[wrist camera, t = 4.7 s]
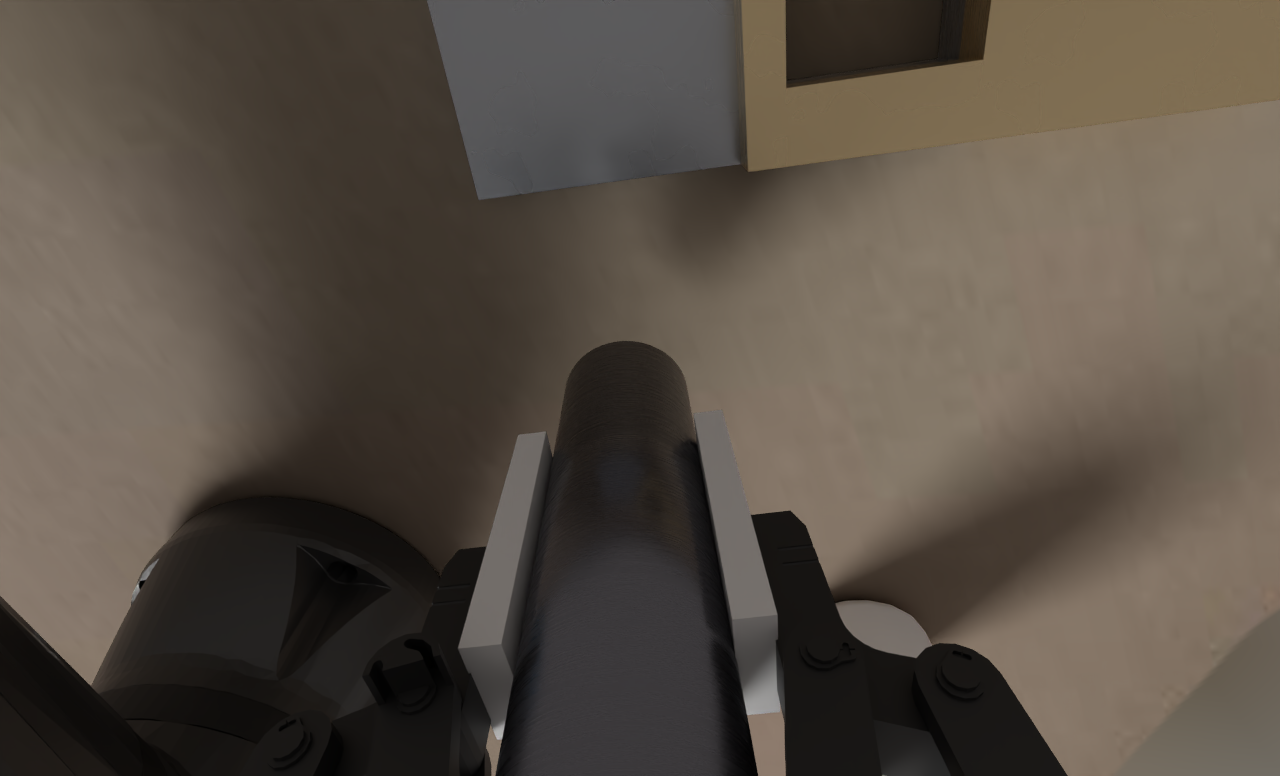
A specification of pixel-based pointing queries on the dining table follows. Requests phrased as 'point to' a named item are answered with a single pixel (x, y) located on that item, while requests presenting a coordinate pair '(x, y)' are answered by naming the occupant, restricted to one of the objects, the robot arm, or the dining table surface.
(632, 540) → the pin
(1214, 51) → the tan holed block
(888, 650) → the potion bottle
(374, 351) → the dining table surface
